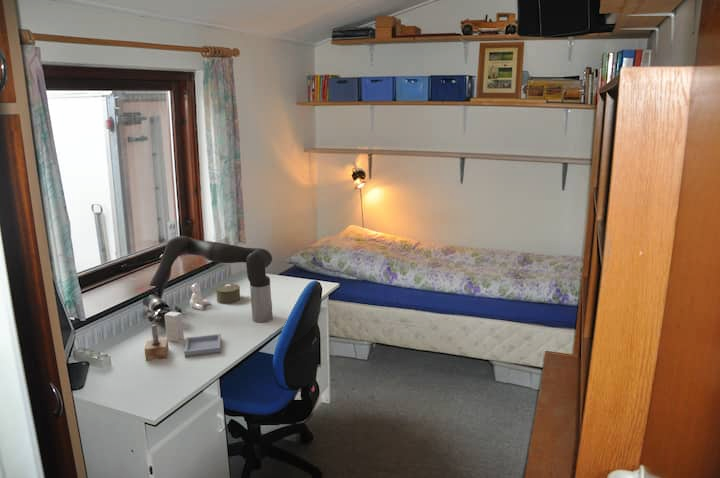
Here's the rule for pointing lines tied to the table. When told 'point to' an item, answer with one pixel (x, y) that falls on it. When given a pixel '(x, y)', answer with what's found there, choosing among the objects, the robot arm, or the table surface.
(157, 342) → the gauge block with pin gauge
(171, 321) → the skincare box
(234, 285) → the can
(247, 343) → the table surface
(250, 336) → the table surface
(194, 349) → the tray
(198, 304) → the white creature statuette
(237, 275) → the table surface
